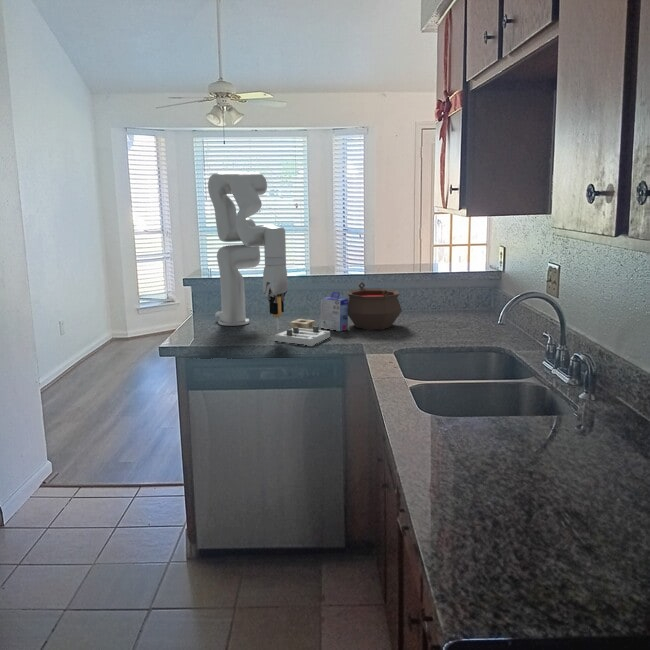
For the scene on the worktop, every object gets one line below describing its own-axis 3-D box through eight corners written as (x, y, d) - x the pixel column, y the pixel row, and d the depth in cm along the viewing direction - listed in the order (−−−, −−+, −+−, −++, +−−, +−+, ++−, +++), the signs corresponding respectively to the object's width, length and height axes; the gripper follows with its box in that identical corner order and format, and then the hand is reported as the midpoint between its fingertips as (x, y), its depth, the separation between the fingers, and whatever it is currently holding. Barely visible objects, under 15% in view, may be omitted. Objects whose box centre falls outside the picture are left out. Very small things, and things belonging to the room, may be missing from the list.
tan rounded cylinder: (271, 330, 236) (270, 297, 234) (276, 328, 239) (275, 295, 236) (279, 330, 235) (277, 297, 232) (283, 329, 237) (282, 296, 235)
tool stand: (290, 332, 250) (290, 322, 249) (299, 328, 256) (299, 318, 255) (306, 334, 247) (306, 323, 246) (315, 330, 253) (315, 320, 252)
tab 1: (283, 337, 235) (283, 329, 234) (286, 336, 237) (286, 328, 236) (292, 338, 233) (292, 330, 233) (295, 337, 235) (295, 329, 234)
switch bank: (275, 341, 235) (274, 334, 235) (295, 333, 247) (294, 327, 247) (311, 346, 228) (311, 338, 228) (330, 338, 240) (330, 330, 240)
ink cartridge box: (348, 329, 254) (348, 292, 251) (340, 332, 250) (340, 294, 247) (328, 326, 260) (328, 290, 257) (320, 328, 256) (319, 292, 253)
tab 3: (309, 333, 240) (309, 326, 240) (312, 332, 242) (312, 325, 241) (319, 334, 238) (319, 327, 238) (321, 333, 240) (321, 326, 239)
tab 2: (289, 334, 239) (289, 327, 238) (292, 333, 241) (292, 326, 240) (299, 335, 237) (299, 328, 237) (302, 334, 239) (302, 327, 238)
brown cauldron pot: (414, 329, 254) (415, 287, 250) (357, 335, 245) (357, 291, 242) (386, 318, 276) (386, 279, 272) (333, 322, 267) (333, 283, 263)
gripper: (278, 259, 241) (280, 308, 244) (253, 263, 226) (255, 316, 230) (296, 260, 237) (297, 310, 241) (271, 264, 223) (273, 317, 227)
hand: (276, 312), depth 235 cm, fingers closed on tan rounded cylinder, 3 cm apart
